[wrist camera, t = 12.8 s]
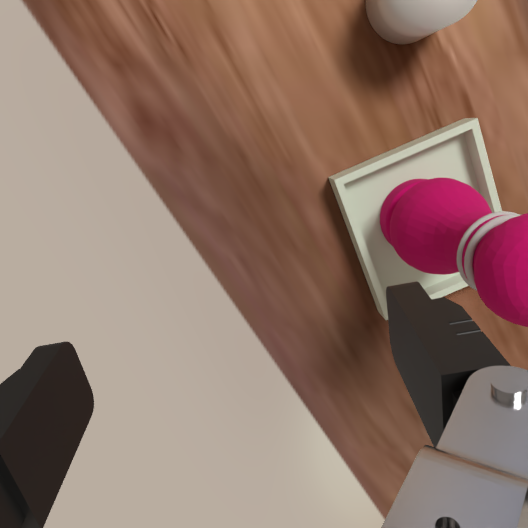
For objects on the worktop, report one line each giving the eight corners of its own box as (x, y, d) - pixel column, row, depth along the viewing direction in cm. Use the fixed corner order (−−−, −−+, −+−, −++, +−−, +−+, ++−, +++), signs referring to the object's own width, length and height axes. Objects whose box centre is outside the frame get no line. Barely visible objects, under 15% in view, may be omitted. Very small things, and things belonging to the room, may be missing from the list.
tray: (328, 177, 39) (334, 179, 37) (463, 118, 39) (477, 118, 37) (378, 311, 43) (386, 320, 41) (502, 258, 43) (516, 265, 41)
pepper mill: (454, 165, 39) (678, 202, 20) (458, 248, 41) (665, 354, 22) (369, 180, 39) (514, 233, 20) (377, 264, 41) (517, 384, 22)
